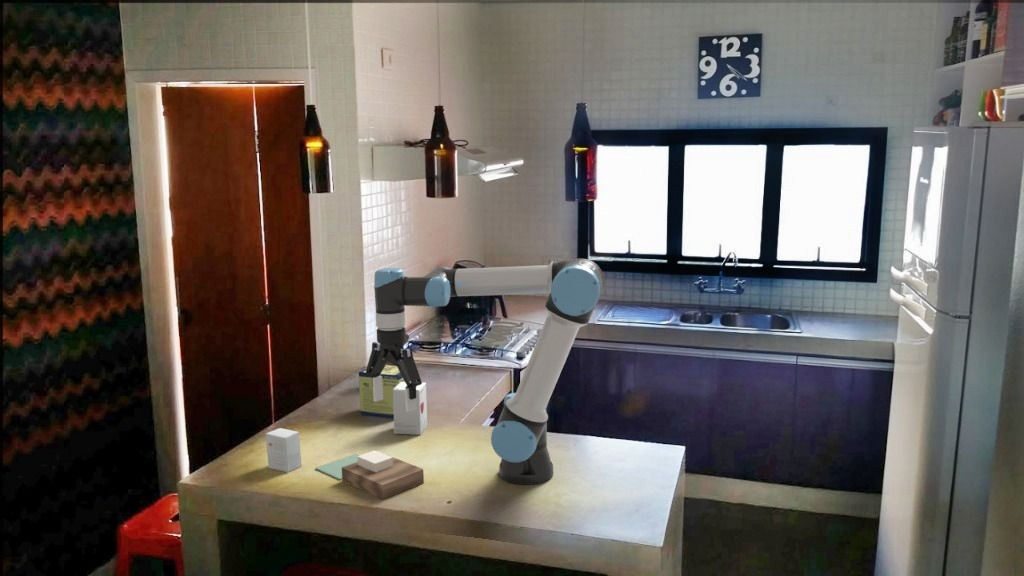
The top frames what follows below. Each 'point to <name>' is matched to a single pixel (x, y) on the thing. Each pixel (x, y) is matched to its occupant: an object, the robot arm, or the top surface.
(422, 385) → the supplement box
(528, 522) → the top surface
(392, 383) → the protein box
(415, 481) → the plate
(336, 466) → the mat
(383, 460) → the tile
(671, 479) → the top surface
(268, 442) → the small box
